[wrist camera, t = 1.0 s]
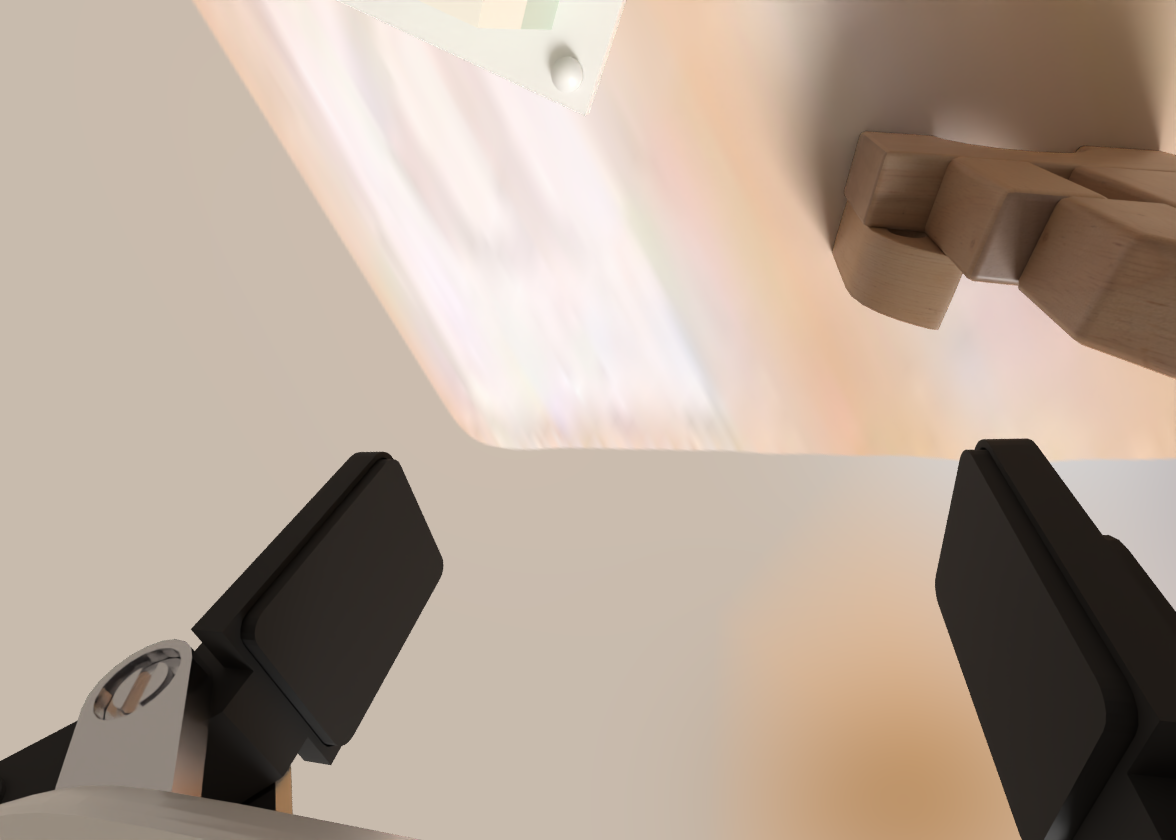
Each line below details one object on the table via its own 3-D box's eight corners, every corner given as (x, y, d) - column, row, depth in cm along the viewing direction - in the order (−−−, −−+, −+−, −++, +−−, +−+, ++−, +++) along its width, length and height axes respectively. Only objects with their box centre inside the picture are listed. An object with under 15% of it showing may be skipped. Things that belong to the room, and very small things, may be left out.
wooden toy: (824, 257, 33) (955, 608, 13) (860, 130, 29) (1127, 345, 9) (1121, 287, 30) (1866, 784, 10) (1203, 153, 27) (2647, 524, 6)
